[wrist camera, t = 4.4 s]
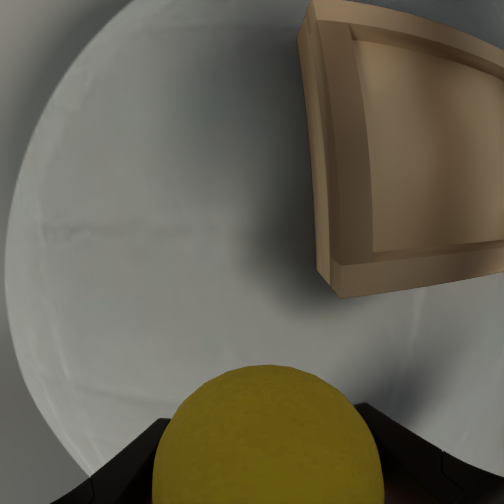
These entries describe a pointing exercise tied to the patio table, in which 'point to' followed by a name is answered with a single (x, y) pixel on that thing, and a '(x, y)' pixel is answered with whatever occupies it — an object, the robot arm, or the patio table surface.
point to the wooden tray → (402, 148)
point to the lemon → (267, 444)
